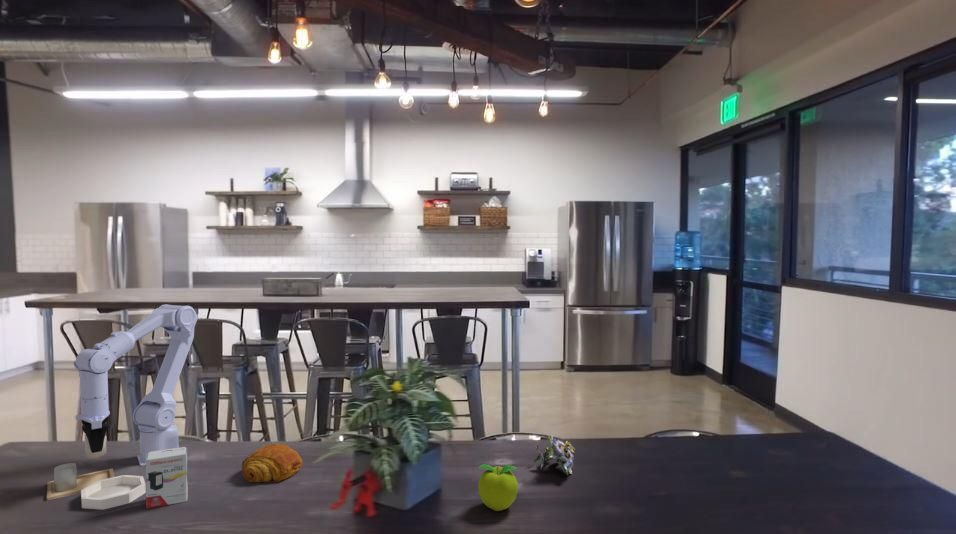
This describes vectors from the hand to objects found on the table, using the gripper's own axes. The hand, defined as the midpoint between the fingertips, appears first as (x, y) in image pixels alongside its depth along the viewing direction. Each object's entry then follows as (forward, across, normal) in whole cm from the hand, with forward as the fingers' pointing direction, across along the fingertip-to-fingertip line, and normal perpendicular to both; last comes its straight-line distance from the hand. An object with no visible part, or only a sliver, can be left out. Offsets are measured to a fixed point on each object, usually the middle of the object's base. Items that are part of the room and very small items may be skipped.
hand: (96, 448), depth 138 cm
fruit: (+9, +72, +74) cm, 103 cm away
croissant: (+9, +21, +38) cm, 44 cm away
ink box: (+9, +22, +13) cm, 27 cm away
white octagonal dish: (+9, +12, +3) cm, 15 cm away
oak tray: (+9, 0, -3) cm, 9 cm away
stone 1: (+8, 0, -6) cm, 11 cm away
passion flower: (+9, +66, +99) cm, 119 cm away
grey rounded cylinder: (+2, 0, 0) cm, 2 cm away
